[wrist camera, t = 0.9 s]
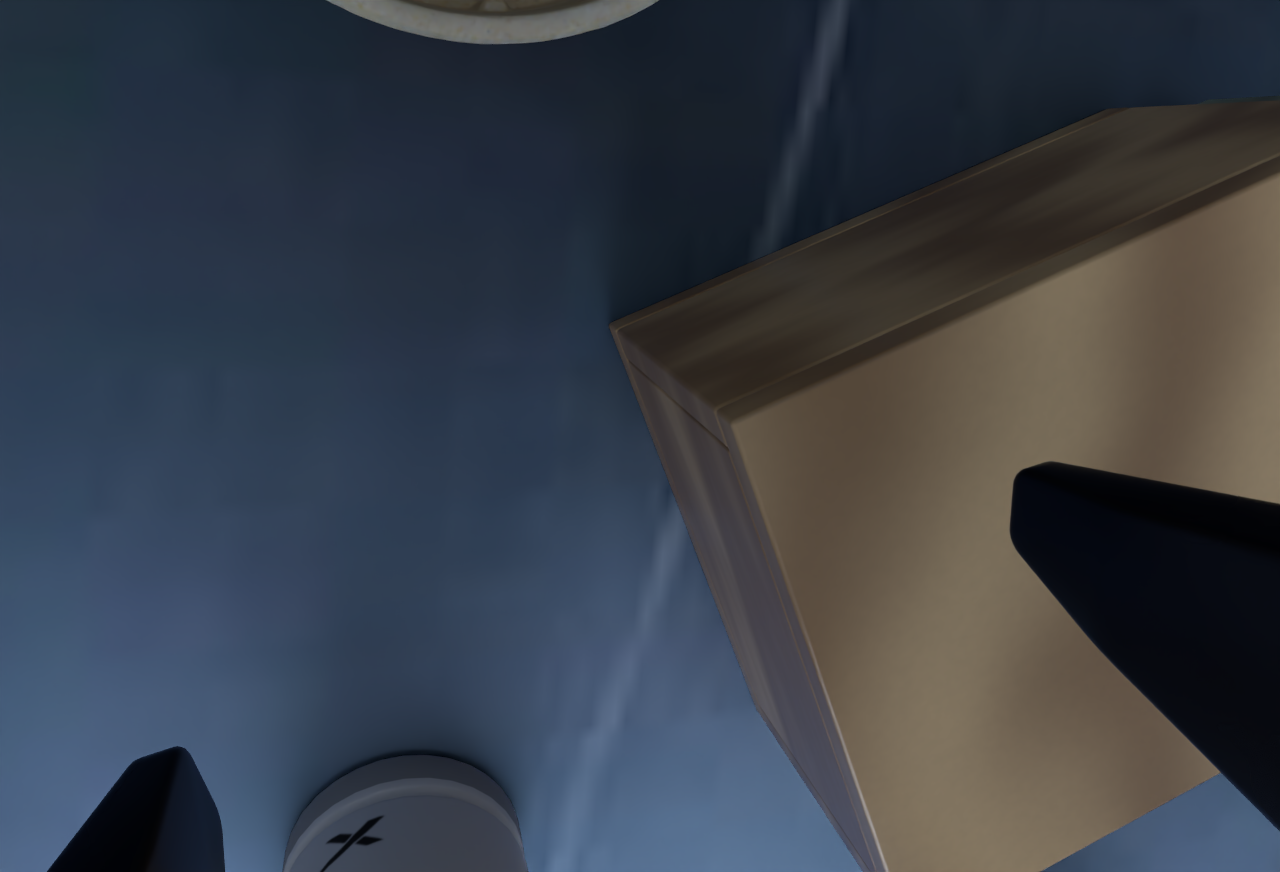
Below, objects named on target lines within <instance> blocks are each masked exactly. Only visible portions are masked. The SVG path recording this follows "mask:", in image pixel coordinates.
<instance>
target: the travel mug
mask: <svg viewBox="0 0 1280 872" xmlns="http://www.w3.org/2000/svg"><path fill="white" fill-rule="evenodd" d="M282 872H528V869H527V864H526V861H525V858H524V849H523V844H522V838H521V833H520V828H519V823H518V819H517V816H516V813H515V811H514V808H513V805H512V803H511V801H510V800H509V798H508V797H507V795H506V794H505V792H504V791H503V789H502V788H501V787H500V786H499V785H498V784H497V783H496V782H495V781H493V780H492V779H491V778H490V777H489V776H488V775H486V774H485V773H483V772H481V771H479V770H478V769H476V768H474V767H472V766H471V765H468V764H465V763H462V762H459V761H456V760H453V759H450V758H446V757H438V756H431V755H406V756H399V757H394V758H389V759H383V760H379V761H377V762H374V763H371V764H368V765H366V766H363V767H360V768H358V769H356V770H354V771H352V772H350V773H349V774H347V775H345V776H343V777H341V778H340V779H338V780H336V781H335V782H334V783H332V784H331V785H330V786H329V787H327V788H326V789H325V790H324V791H322V792H321V793H320V794H319V795H317V796H316V797H315V799H314V800H313V801H312V802H311V803H310V804H309V805H308V807H307V808H306V809H305V810H304V811H303V812H302V814H301V816H300V817H299V819H298V821H297V823H296V824H295V826H294V828H293V830H292V831H291V834H290V838H289V841H288V844H287V847H286V851H285V857H284V864H283V871H282Z"/></svg>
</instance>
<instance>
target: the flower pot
mask: <svg viewBox="0 0 1280 872" xmlns="http://www.w3.org/2000/svg"><path fill="white" fill-rule="evenodd" d="M327 1H329V2H331V3H333V4H335V5H337V6H339V7H341V8H343V9H345V10H347V11H349V12H351V13H353V14H356V15H358V16H361V17H363V18H366V19H369V20H371V21H374V22H377V23H380V24H382V25H385V26H388V27H391V28H394V29H398V30H402V31H405V32H409V33H413V34H418V35H422V36H426V37H432V38H437V39H443V40H449V41H455V42H464V43H475V44H517V43H532V42H541V41H548V40H554V39H559V38H564V37H569V36H573V35H577V34H581V33H584V32H588V31H591V30H595V29H599V28H603V27H606V26H608V25H611V24H613V23H615V22H618V21H620V20H623V19H625V18H627V17H630V16H632V15H634V14H636V13H637V12H639V11H641V10H643V9H645V8H647V7H649V6H651V5H652V4H654V3H656V2H657V1H659V0H327Z"/></svg>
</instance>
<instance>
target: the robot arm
mask: <svg viewBox="0 0 1280 872" xmlns="http://www.w3.org/2000/svg"><path fill="white" fill-rule="evenodd" d="M1009 532H1010V537H1011V540H1012V543H1013V545H1014V547H1015V549H1016V551H1017V552H1018V553H1019V555H1020V556H1021V557H1022V558H1023V560H1024V561H1025V562H1026V563H1027V564H1028V566H1029V567H1030V568H1031V569H1032V570H1033V572H1034V573H1035V574H1036V575H1037V576H1038V578H1039V579H1040V580H1041V581H1042V583H1043V584H1044V585H1045V586H1046V587H1047V589H1048V590H1049V591H1050V592H1051V593H1052V595H1053V596H1054V597H1055V598H1056V599H1057V601H1058V602H1059V603H1060V604H1061V606H1062V607H1063V608H1064V609H1065V610H1066V612H1067V613H1068V614H1069V615H1070V616H1071V618H1072V619H1073V620H1074V621H1075V622H1076V624H1077V625H1078V626H1079V627H1080V628H1081V630H1082V631H1083V632H1084V633H1085V634H1086V636H1087V637H1088V638H1089V639H1090V640H1091V641H1092V643H1093V644H1094V645H1095V646H1096V647H1097V648H1098V649H1099V651H1100V652H1101V653H1102V654H1103V655H1104V656H1105V657H1106V658H1107V659H1108V660H1109V661H1110V662H1111V663H1112V664H1113V665H1114V666H1115V667H1116V668H1117V669H1118V670H1119V671H1120V672H1121V673H1122V674H1123V675H1124V676H1125V677H1126V678H1127V679H1128V680H1129V681H1130V682H1131V683H1132V684H1133V685H1134V686H1135V687H1136V688H1137V689H1138V690H1139V691H1140V692H1141V693H1142V694H1143V695H1144V696H1145V697H1146V698H1147V699H1148V700H1149V701H1150V702H1151V703H1152V704H1153V705H1154V706H1155V707H1156V708H1157V709H1158V710H1159V711H1160V712H1161V713H1162V714H1163V715H1164V716H1165V717H1166V718H1167V719H1168V720H1169V721H1170V722H1171V723H1172V724H1173V725H1174V726H1175V727H1176V728H1177V729H1178V730H1179V731H1180V732H1181V733H1182V734H1183V735H1184V736H1185V737H1186V738H1187V739H1188V740H1189V741H1190V742H1191V743H1192V744H1193V745H1194V746H1195V747H1196V748H1197V749H1198V750H1199V751H1200V752H1201V753H1202V754H1203V755H1204V756H1205V757H1206V758H1207V759H1208V760H1209V761H1210V762H1211V763H1212V764H1213V765H1214V766H1215V767H1216V768H1217V769H1218V770H1219V771H1220V772H1221V773H1222V774H1223V775H1224V776H1225V777H1226V778H1227V779H1228V780H1229V781H1230V782H1231V783H1232V784H1233V785H1234V786H1235V787H1236V788H1237V789H1238V790H1239V791H1240V792H1241V793H1242V794H1243V795H1244V796H1245V797H1246V798H1247V799H1248V800H1249V801H1250V802H1251V803H1252V804H1253V805H1254V806H1255V807H1256V808H1257V809H1258V810H1259V811H1260V812H1261V813H1262V814H1263V815H1264V816H1265V817H1266V818H1267V819H1268V820H1269V821H1270V822H1271V823H1272V824H1273V825H1274V826H1275V827H1276V828H1277V829H1278V830H1279V831H1280V504H1279V503H1273V502H1268V501H1263V500H1258V499H1252V498H1247V497H1242V496H1236V495H1231V494H1226V493H1220V492H1215V491H1210V490H1204V489H1199V488H1194V487H1189V486H1183V485H1178V484H1173V483H1167V482H1162V481H1157V480H1151V479H1146V478H1141V477H1136V476H1130V475H1125V474H1120V473H1114V472H1109V471H1104V470H1098V469H1093V468H1088V467H1082V466H1077V465H1072V464H1067V463H1061V462H1056V461H1047V462H1043V463H1040V464H1037V465H1034V466H1031V467H1028V468H1025V469H1022V470H1021V471H1019V472H1018V473H1017V475H1016V476H1015V478H1014V481H1013V490H1012V502H1011V515H1010V527H1009ZM47 872H225V863H224V848H223V833H222V826H221V820H220V816H219V813H218V810H217V807H216V805H215V803H214V801H213V799H212V797H211V795H210V793H209V790H208V788H207V786H206V784H205V782H204V780H203V778H202V776H201V774H200V772H199V770H198V768H197V766H196V764H195V762H194V760H193V758H192V756H191V755H190V753H189V752H188V751H187V750H186V749H185V748H182V747H179V746H176V747H172V748H169V749H166V750H163V751H160V752H157V753H154V754H151V755H147V756H144V757H141V758H139V759H137V760H135V761H134V762H132V763H131V764H130V765H129V767H128V768H127V769H126V770H125V771H124V773H123V774H122V775H121V777H120V778H119V779H118V781H117V782H116V783H115V784H114V786H113V787H112V788H111V790H110V791H109V792H108V793H107V795H106V796H105V797H104V799H103V800H102V801H101V802H100V804H99V805H98V806H97V808H96V809H95V810H94V812H93V813H92V814H91V815H90V817H89V818H88V819H87V821H86V822H85V823H84V824H83V826H82V827H81V828H80V830H79V831H78V832H77V833H76V835H75V836H74V837H73V839H72V840H71V841H70V842H69V844H68V845H67V846H66V848H65V849H64V850H63V852H62V853H61V854H60V855H59V857H58V858H57V859H56V861H55V862H54V863H53V864H52V866H51V867H50V868H49V870H48V871H47Z"/></svg>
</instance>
